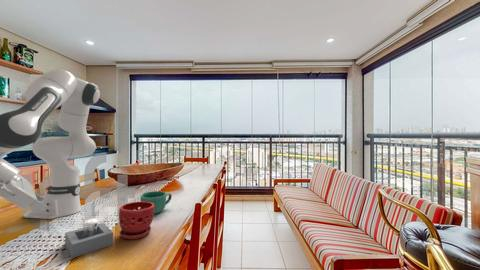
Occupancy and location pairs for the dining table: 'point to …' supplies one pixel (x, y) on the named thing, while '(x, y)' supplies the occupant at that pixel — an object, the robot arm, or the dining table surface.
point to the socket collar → (88, 240)
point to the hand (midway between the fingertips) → (43, 204)
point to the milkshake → (90, 227)
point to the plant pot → (135, 219)
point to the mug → (156, 199)
